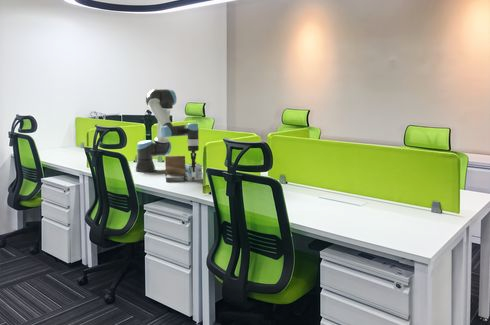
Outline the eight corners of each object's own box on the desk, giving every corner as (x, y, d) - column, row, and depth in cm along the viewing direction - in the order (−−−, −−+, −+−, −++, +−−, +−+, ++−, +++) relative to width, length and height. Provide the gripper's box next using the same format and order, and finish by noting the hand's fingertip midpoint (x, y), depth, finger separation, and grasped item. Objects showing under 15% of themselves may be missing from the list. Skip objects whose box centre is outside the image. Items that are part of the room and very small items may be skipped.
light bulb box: (188, 181, 306) (188, 165, 304) (184, 179, 312) (184, 164, 310) (202, 179, 311) (202, 164, 309) (198, 178, 317) (198, 163, 315)
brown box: (165, 177, 317) (165, 155, 314) (185, 177, 318) (185, 155, 316) (164, 181, 302) (164, 159, 300) (184, 181, 304) (184, 158, 301)
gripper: (188, 143, 319) (188, 171, 323) (187, 147, 295) (188, 178, 298) (198, 143, 320) (198, 171, 323) (198, 147, 296) (199, 177, 299)
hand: (193, 174), depth 311 cm, fingers open, 13 cm apart
